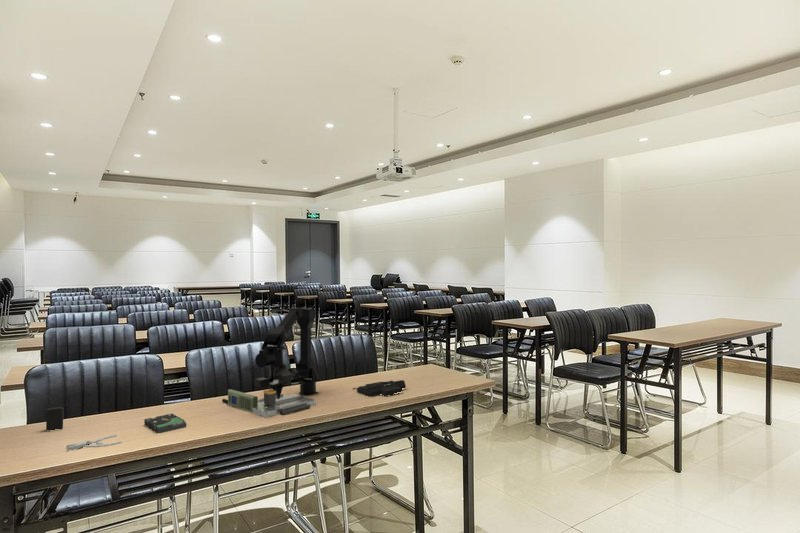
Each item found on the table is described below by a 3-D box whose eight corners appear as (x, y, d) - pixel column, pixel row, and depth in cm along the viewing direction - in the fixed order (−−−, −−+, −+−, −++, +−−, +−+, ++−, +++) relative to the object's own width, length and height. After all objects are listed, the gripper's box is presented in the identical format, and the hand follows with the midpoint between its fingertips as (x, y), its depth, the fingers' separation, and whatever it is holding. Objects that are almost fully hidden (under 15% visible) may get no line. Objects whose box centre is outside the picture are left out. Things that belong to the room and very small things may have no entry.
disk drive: (143, 426, 184) (157, 435, 173) (143, 419, 184) (157, 427, 173) (172, 420, 191) (187, 427, 181) (171, 413, 191) (187, 420, 181)
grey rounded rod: (281, 399, 218) (281, 392, 218) (286, 400, 215) (286, 394, 215) (255, 405, 208) (255, 398, 208) (260, 406, 206) (259, 400, 206)
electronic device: (375, 381, 252) (375, 371, 252) (412, 392, 228) (411, 381, 228) (340, 387, 239) (340, 377, 239) (375, 400, 215) (375, 389, 215)
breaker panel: (294, 398, 219) (294, 393, 219) (315, 404, 208) (315, 399, 208) (245, 409, 202) (245, 404, 202) (265, 417, 191) (265, 411, 191)
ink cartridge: (63, 427, 182) (63, 406, 182) (62, 429, 180) (62, 407, 180) (47, 429, 179) (47, 408, 180) (46, 431, 177) (46, 409, 178)
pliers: (121, 439, 164) (68, 450, 155) (121, 444, 164) (68, 455, 155) (116, 432, 172) (65, 442, 163) (116, 436, 172) (65, 446, 163)
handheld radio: (251, 414, 197) (219, 403, 213) (258, 412, 200) (226, 402, 216) (252, 397, 197) (219, 388, 213) (259, 396, 200) (226, 387, 216)
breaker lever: (270, 402, 204) (270, 388, 204) (275, 403, 201) (275, 390, 201) (263, 403, 201) (263, 390, 201) (269, 405, 199) (268, 392, 199)
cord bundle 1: (304, 406, 205) (304, 400, 205) (310, 408, 202) (310, 401, 202) (277, 413, 196) (277, 406, 196) (283, 415, 193) (283, 408, 193)
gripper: (266, 369, 191) (268, 408, 192) (306, 360, 205) (308, 396, 205) (252, 365, 199) (254, 403, 199) (291, 357, 212) (293, 392, 213)
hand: (278, 398), depth 204 cm, fingers closed
